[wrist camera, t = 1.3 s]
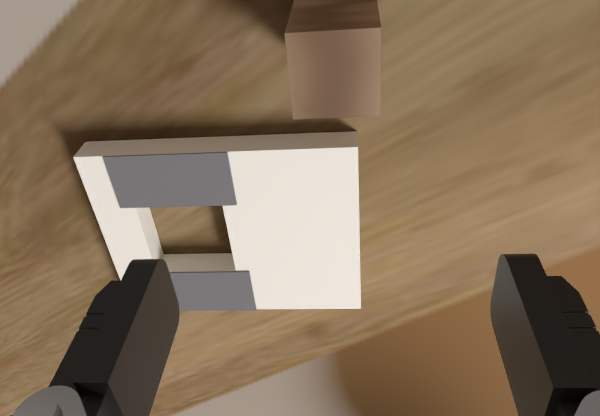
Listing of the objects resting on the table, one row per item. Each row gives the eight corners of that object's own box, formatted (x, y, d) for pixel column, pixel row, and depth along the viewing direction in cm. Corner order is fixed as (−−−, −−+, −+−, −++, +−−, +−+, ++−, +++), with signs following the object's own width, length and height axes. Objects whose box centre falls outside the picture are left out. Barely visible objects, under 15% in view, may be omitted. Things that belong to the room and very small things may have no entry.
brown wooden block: (373, -21, 28) (381, 27, 22) (373, 52, 31) (380, 115, 24) (298, -16, 29) (284, 33, 22) (303, 56, 31) (292, 119, 25)
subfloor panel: (357, 131, 34) (357, 148, 32) (360, 289, 42) (360, 309, 40) (85, 141, 35) (72, 158, 34) (139, 291, 44) (131, 310, 42)
